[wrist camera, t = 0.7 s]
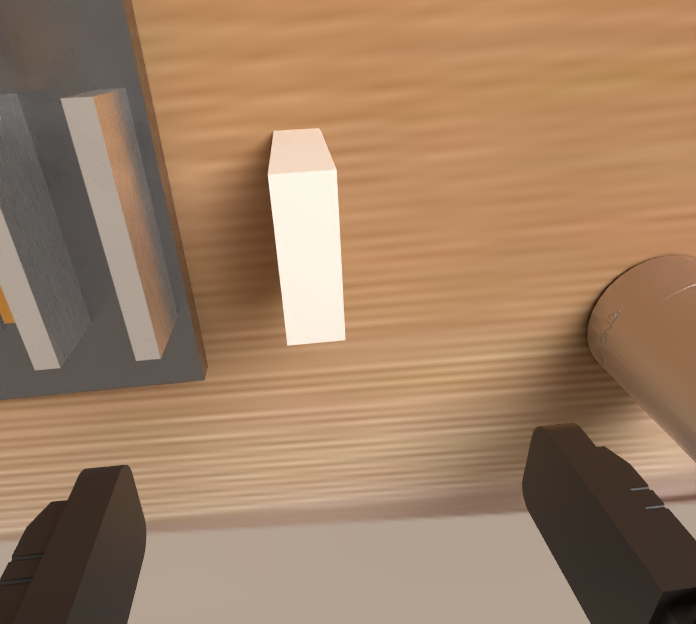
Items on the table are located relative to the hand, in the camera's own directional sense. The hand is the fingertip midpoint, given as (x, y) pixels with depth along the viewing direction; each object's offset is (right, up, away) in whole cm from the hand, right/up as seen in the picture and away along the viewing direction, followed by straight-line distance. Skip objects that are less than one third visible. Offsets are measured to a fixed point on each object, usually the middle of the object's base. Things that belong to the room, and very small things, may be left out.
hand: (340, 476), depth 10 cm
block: (-2, +10, +18) cm, 21 cm away
